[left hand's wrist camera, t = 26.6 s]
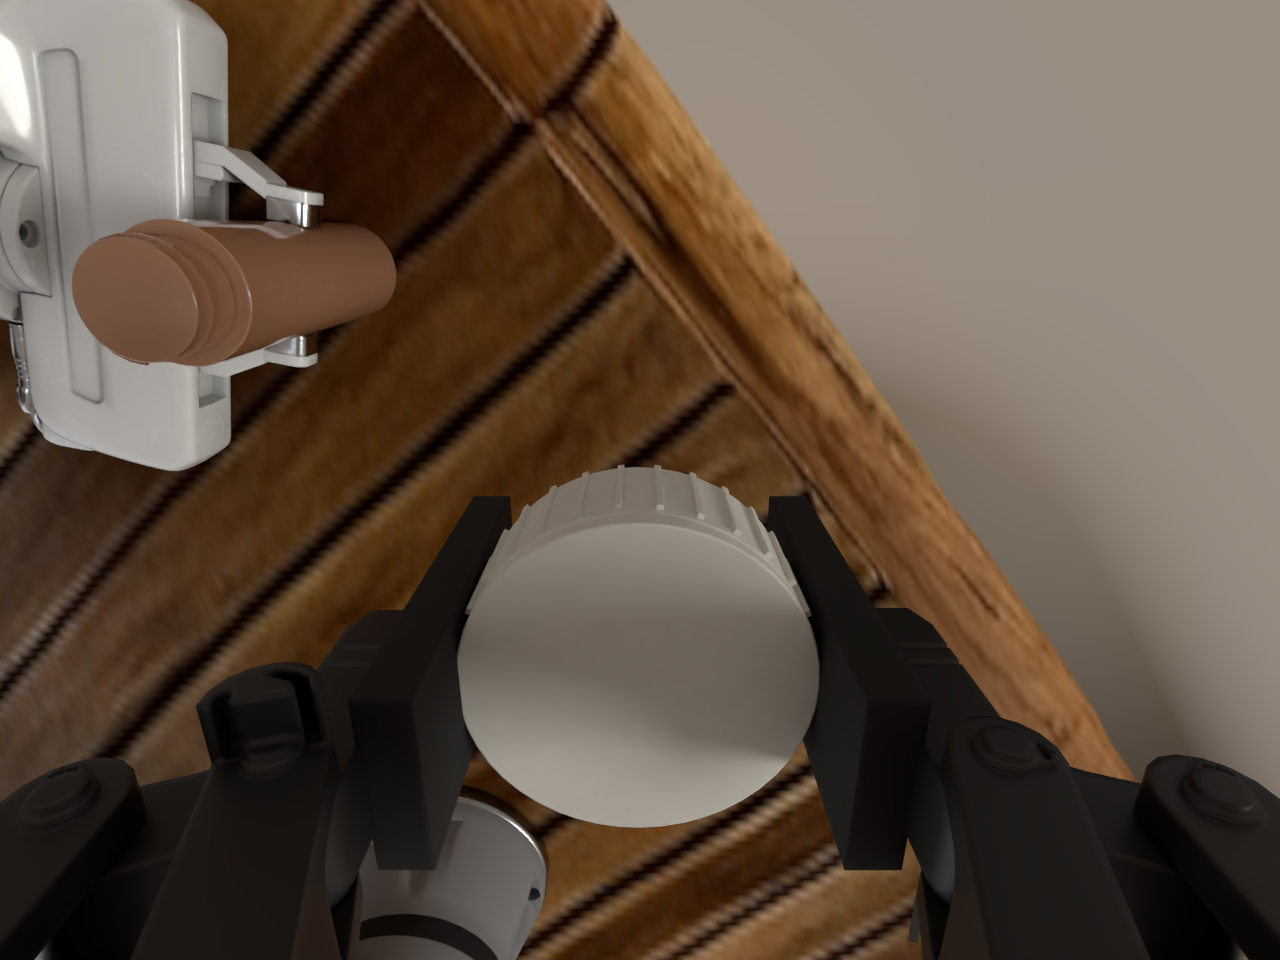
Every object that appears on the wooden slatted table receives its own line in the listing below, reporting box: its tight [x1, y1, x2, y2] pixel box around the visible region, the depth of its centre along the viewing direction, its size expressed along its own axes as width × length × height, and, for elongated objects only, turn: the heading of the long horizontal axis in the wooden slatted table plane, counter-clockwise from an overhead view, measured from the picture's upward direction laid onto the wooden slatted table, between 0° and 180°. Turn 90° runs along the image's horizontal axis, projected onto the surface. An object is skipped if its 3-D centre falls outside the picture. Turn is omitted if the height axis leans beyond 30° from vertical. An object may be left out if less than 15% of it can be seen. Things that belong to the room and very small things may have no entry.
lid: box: [457, 465, 820, 827], centre depth 11 cm, size 6×6×2 cm
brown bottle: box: [72, 219, 396, 367], centre depth 29 cm, size 5×5×17 cm
